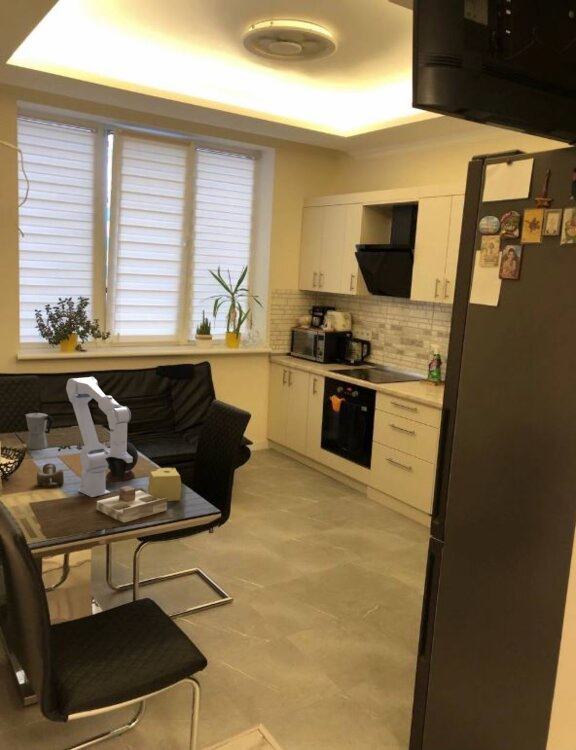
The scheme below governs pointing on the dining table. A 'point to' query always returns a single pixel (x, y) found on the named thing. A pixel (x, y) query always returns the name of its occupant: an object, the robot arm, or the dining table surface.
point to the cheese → (165, 484)
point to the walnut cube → (127, 493)
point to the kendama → (50, 475)
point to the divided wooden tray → (132, 506)
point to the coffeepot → (37, 430)
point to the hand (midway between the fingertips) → (117, 477)
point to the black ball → (128, 474)
